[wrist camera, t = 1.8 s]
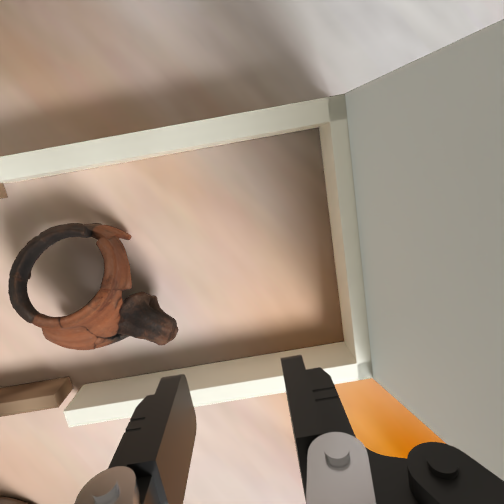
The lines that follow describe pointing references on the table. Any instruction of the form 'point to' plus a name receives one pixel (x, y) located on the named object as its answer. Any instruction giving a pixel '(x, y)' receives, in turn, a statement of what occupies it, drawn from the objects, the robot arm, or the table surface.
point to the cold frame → (371, 242)
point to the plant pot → (10, 501)
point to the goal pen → (33, 388)
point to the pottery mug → (104, 302)
